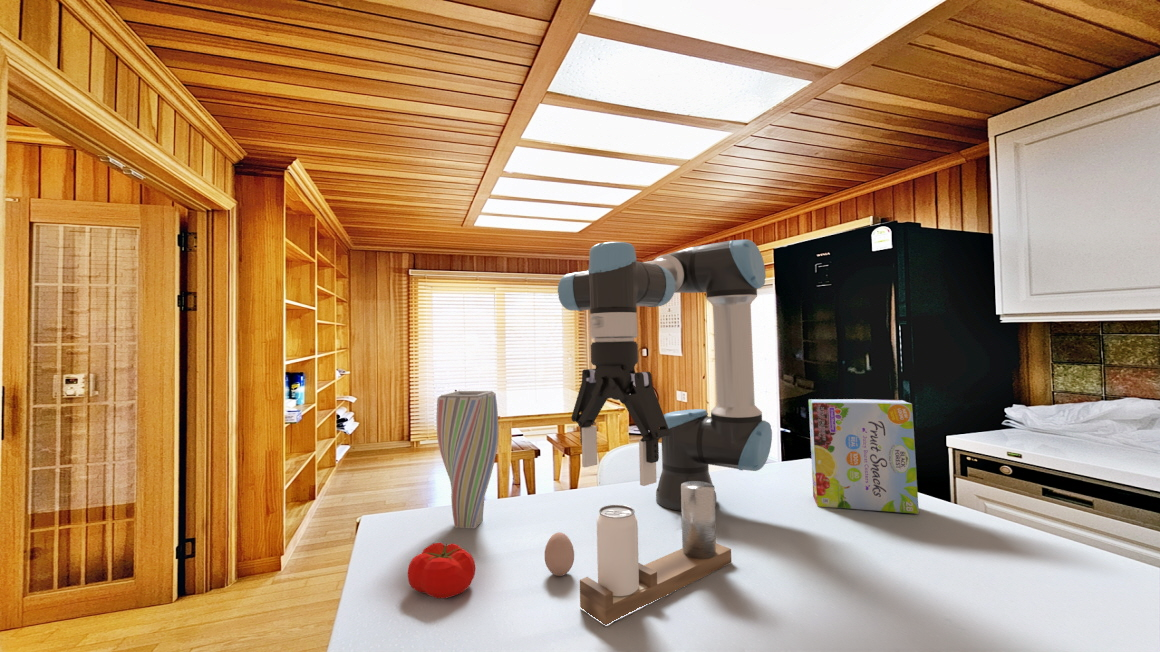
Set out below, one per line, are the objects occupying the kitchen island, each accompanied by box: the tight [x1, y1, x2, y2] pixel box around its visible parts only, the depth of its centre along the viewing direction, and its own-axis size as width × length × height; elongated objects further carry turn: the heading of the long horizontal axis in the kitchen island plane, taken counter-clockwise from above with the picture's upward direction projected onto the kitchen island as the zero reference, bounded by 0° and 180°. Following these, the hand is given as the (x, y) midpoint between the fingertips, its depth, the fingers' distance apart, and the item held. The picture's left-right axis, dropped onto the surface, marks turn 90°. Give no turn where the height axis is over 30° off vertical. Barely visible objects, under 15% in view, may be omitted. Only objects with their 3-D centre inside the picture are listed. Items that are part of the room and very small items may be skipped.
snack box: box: [808, 398, 920, 515], centre depth 117 cm, size 22×9×26 cm, turn 71°
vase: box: [435, 390, 499, 529], centre depth 110 cm, size 14×14×30 cm
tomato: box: [407, 542, 476, 599], centre depth 81 cm, size 10×11×6 cm
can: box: [596, 504, 639, 597], centre depth 75 cm, size 6×6×12 cm
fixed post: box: [681, 481, 717, 560], centre depth 88 cm, size 6×6×12 cm
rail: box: [579, 542, 732, 625], centre depth 81 cm, size 6×31×4 cm, turn 128°
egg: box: [544, 531, 575, 577], centre depth 85 cm, size 5×5×7 cm
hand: (617, 474), depth 76 cm, fingers open, 13 cm apart
